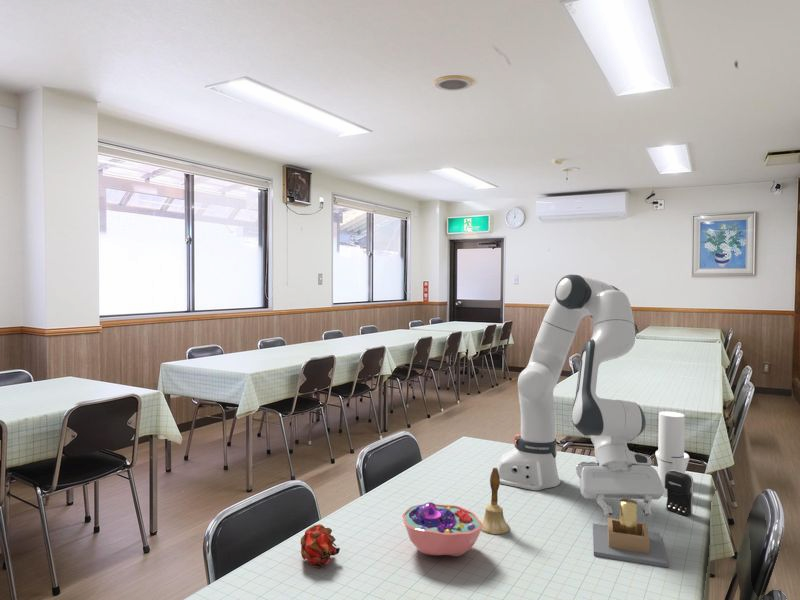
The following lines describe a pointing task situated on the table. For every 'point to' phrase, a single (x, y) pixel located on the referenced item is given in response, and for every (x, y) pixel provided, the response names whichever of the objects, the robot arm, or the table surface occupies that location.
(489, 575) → the table surface
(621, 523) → the brass tube
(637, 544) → the plate
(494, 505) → the hand bell
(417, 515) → the cell model
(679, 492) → the battery charger
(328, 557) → the dragon fruit
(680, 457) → the cylindrical container
